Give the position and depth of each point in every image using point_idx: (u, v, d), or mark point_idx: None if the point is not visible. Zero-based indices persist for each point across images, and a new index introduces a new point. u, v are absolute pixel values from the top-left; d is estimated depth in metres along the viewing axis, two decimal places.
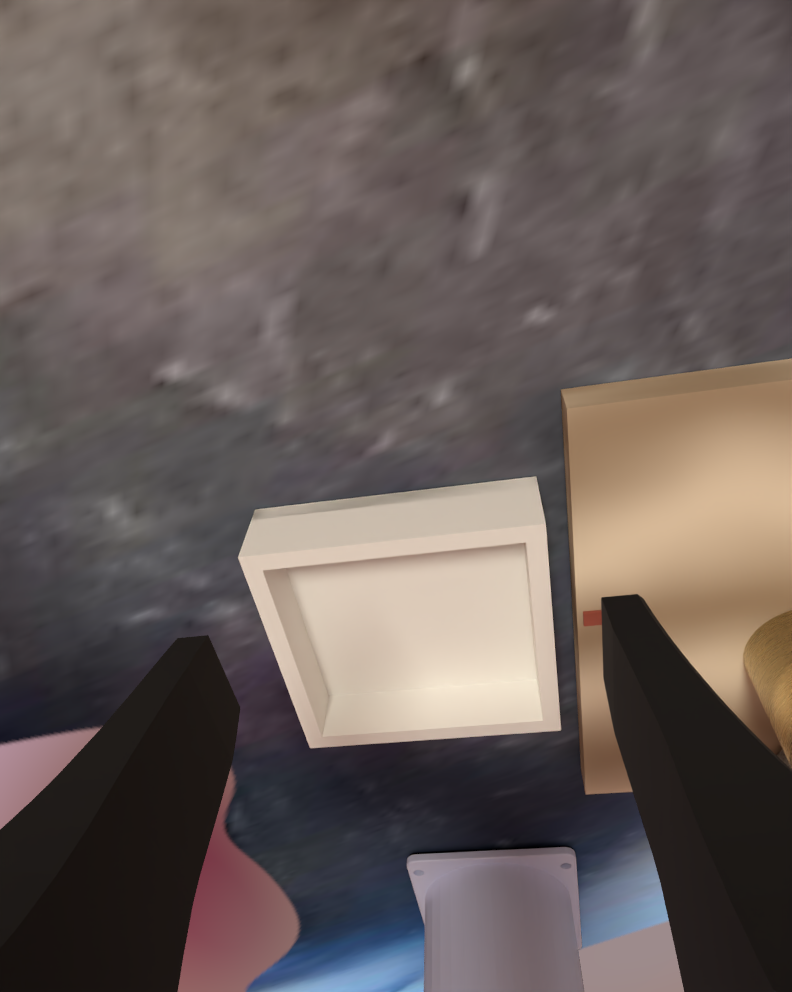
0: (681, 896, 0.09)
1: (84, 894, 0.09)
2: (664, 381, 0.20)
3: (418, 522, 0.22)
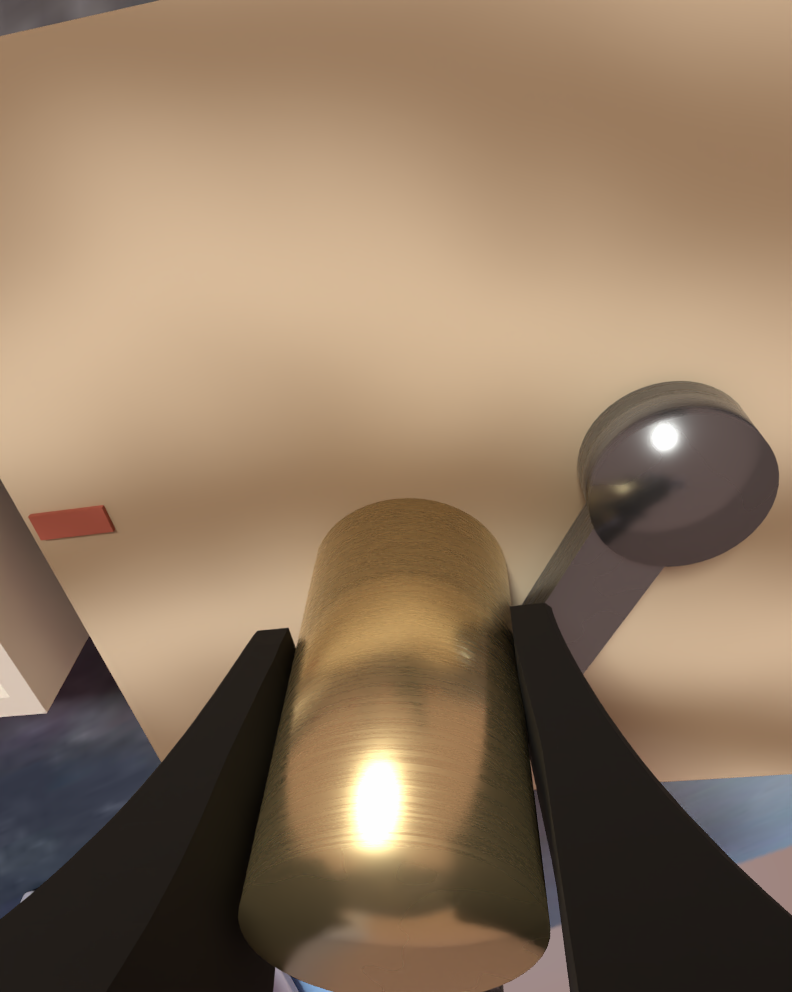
0: (559, 901, 0.10)
1: (199, 889, 0.09)
2: None
3: None
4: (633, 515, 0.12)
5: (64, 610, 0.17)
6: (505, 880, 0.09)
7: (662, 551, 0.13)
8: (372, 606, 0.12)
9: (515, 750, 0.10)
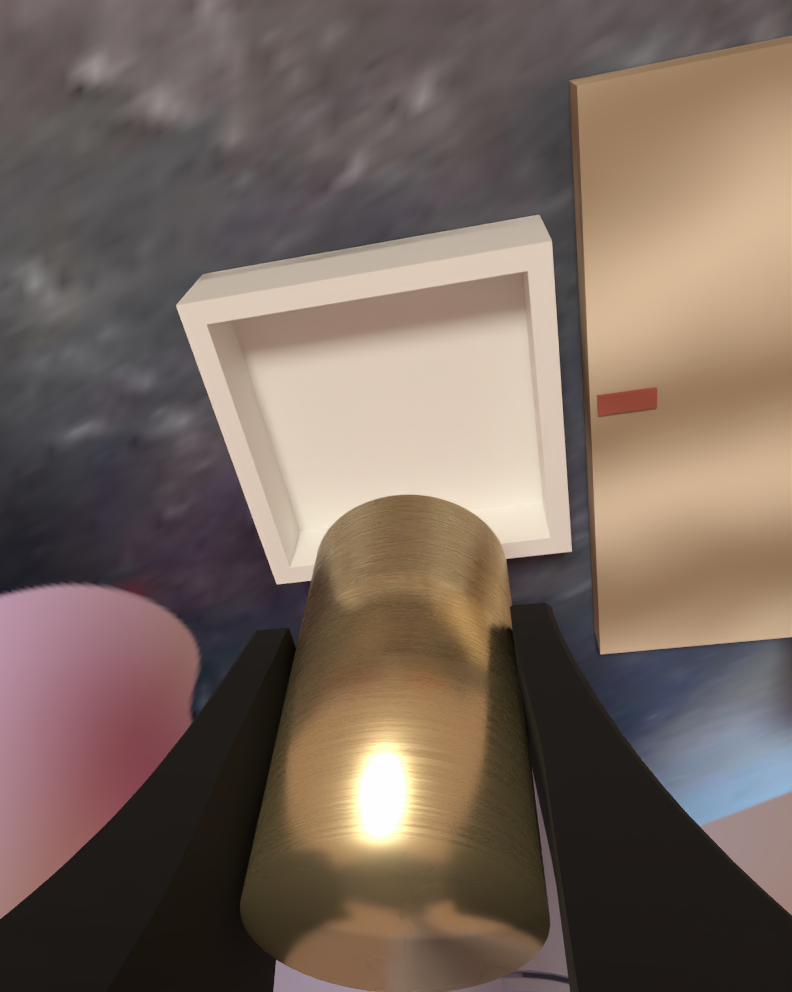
0: (559, 901, 0.10)
1: (199, 889, 0.09)
2: (698, 56, 0.16)
3: (395, 258, 0.18)
4: None
5: None
6: (502, 870, 0.09)
7: None
8: (369, 601, 0.12)
9: (513, 741, 0.10)
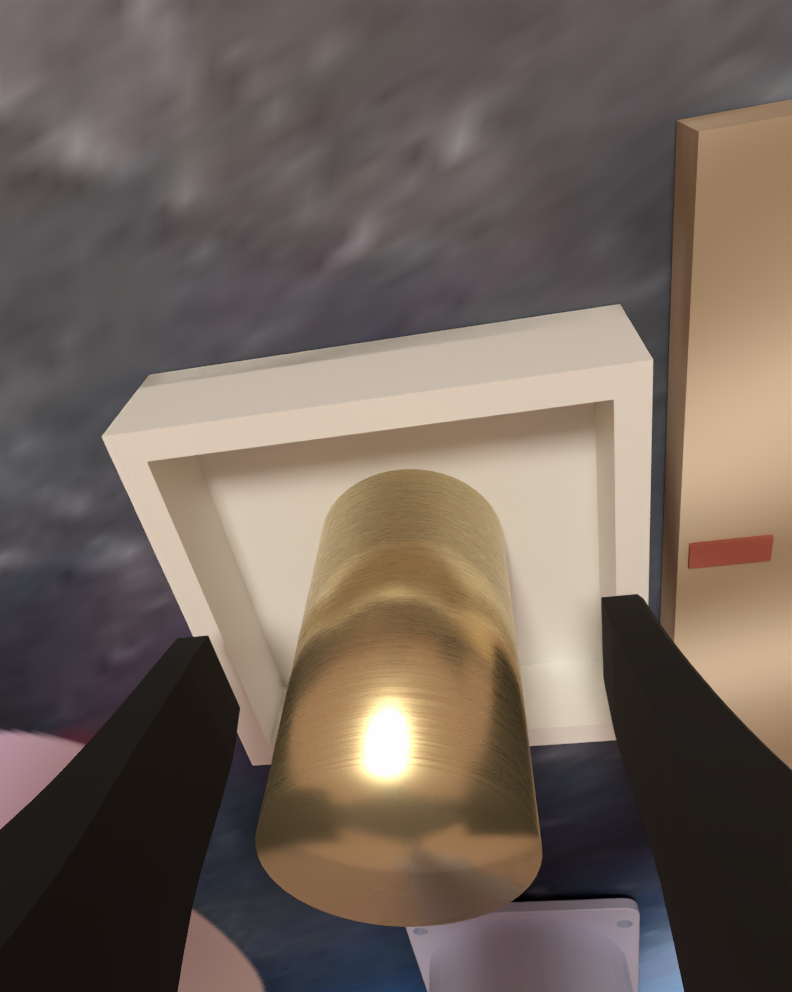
0: (681, 896, 0.09)
1: (84, 894, 0.09)
2: None
3: (418, 372, 0.12)
4: None
5: None
6: (498, 799, 0.09)
7: None
8: (373, 564, 0.12)
9: (508, 690, 0.11)
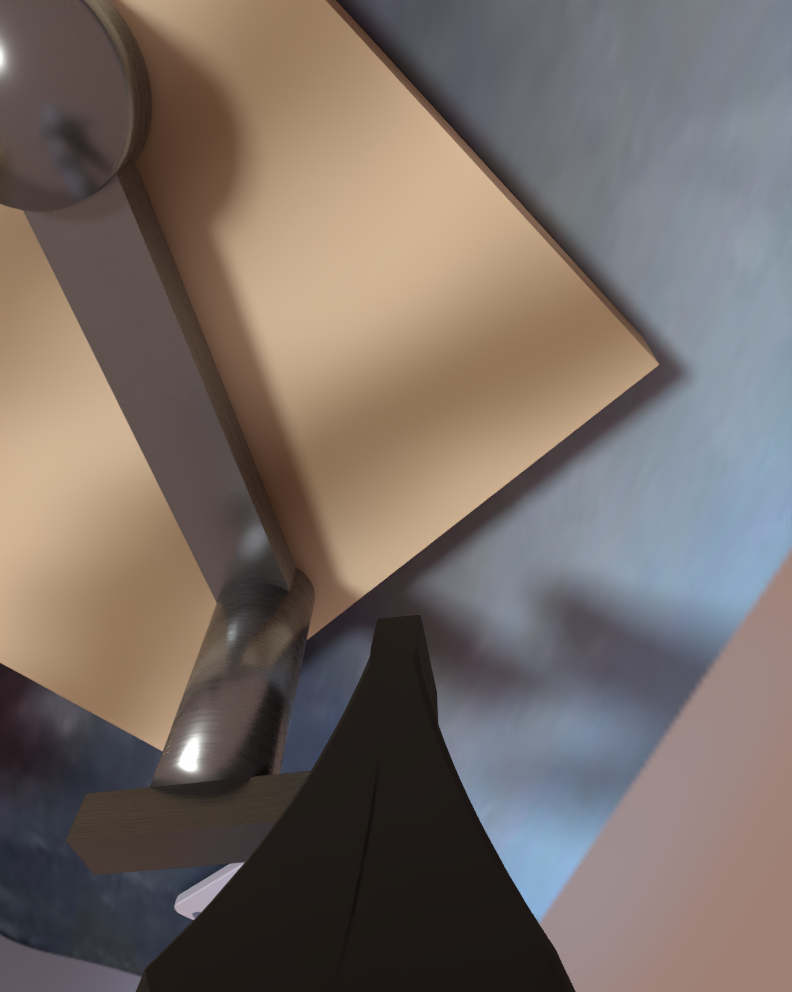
0: None
1: None
2: None
3: None
4: None
5: None
6: None
7: (70, 175, 0.10)
8: None
9: None
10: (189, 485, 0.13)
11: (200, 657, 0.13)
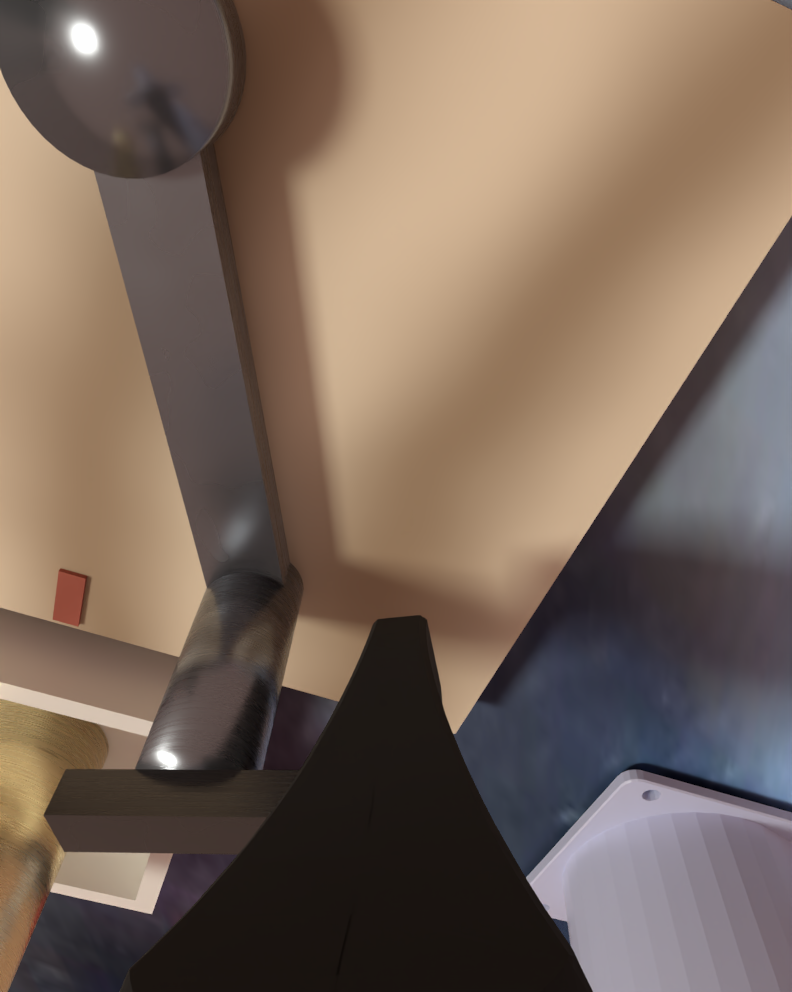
0: None
1: None
2: None
3: None
4: (84, 111, 0.10)
5: None
6: None
7: (155, 147, 0.10)
8: None
9: None
10: (205, 469, 0.13)
11: (191, 642, 0.13)
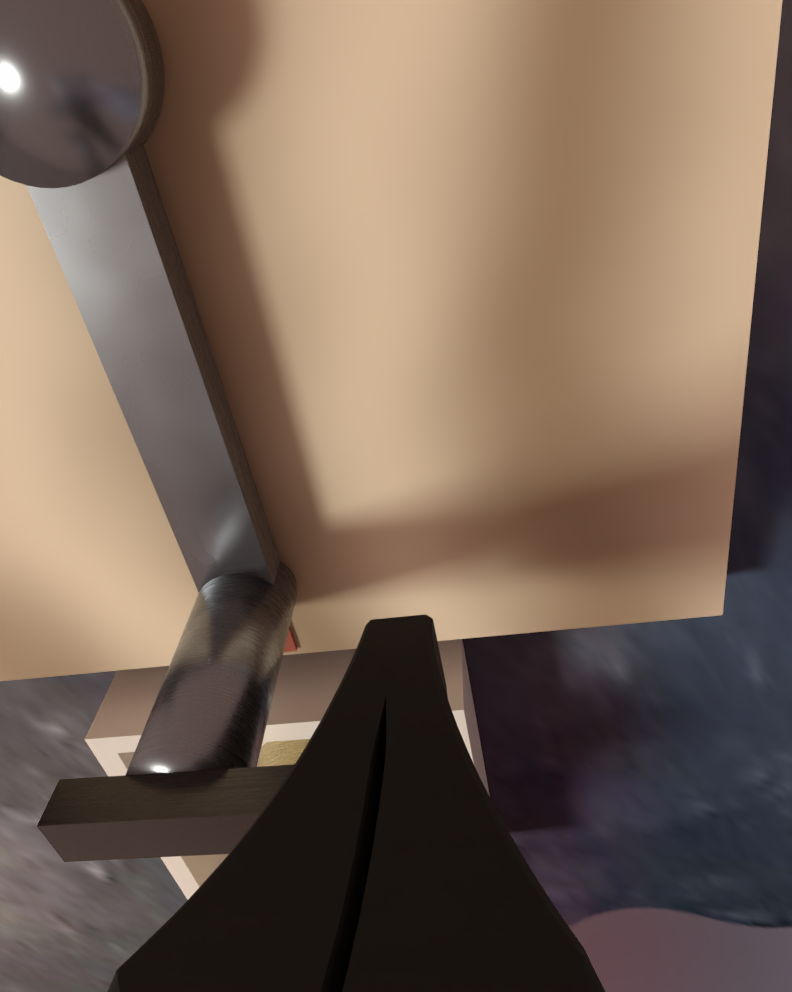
0: None
1: (366, 881, 0.09)
2: None
3: None
4: (5, 126, 0.10)
5: None
6: None
7: (78, 153, 0.10)
8: None
9: None
10: (179, 473, 0.13)
11: (181, 646, 0.13)
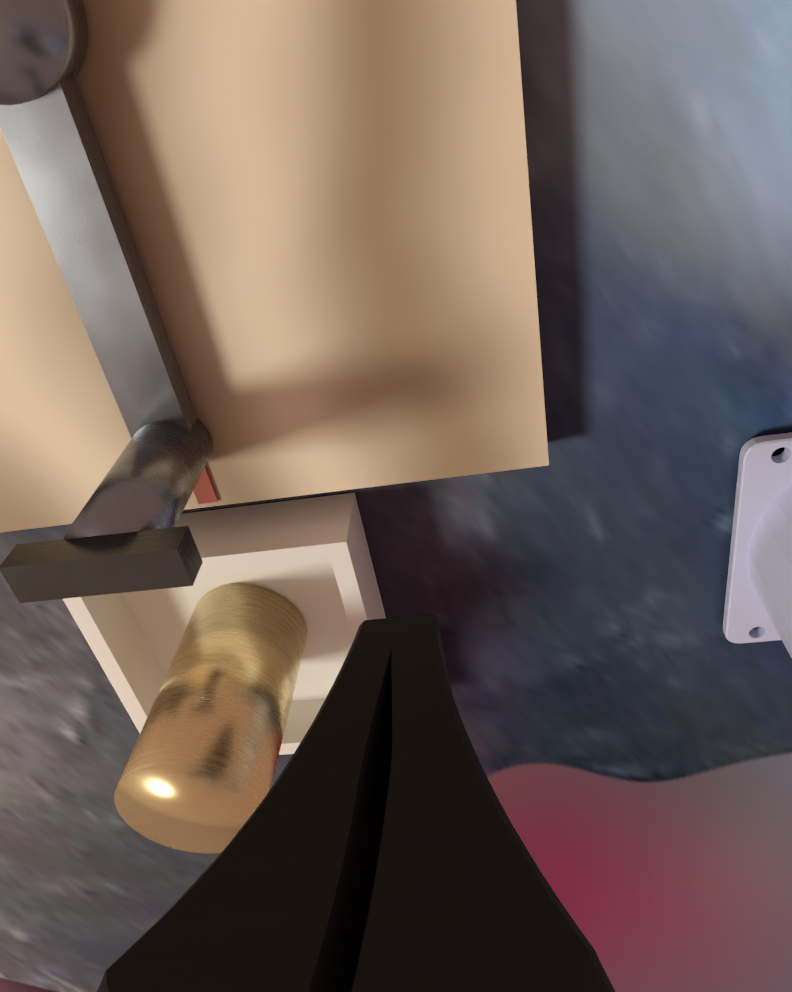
0: None
1: (357, 882, 0.09)
2: None
3: None
4: None
5: (316, 504, 0.23)
6: (123, 783, 0.19)
7: (25, 79, 0.14)
8: None
9: (155, 712, 0.21)
10: (111, 334, 0.18)
11: (112, 466, 0.18)
